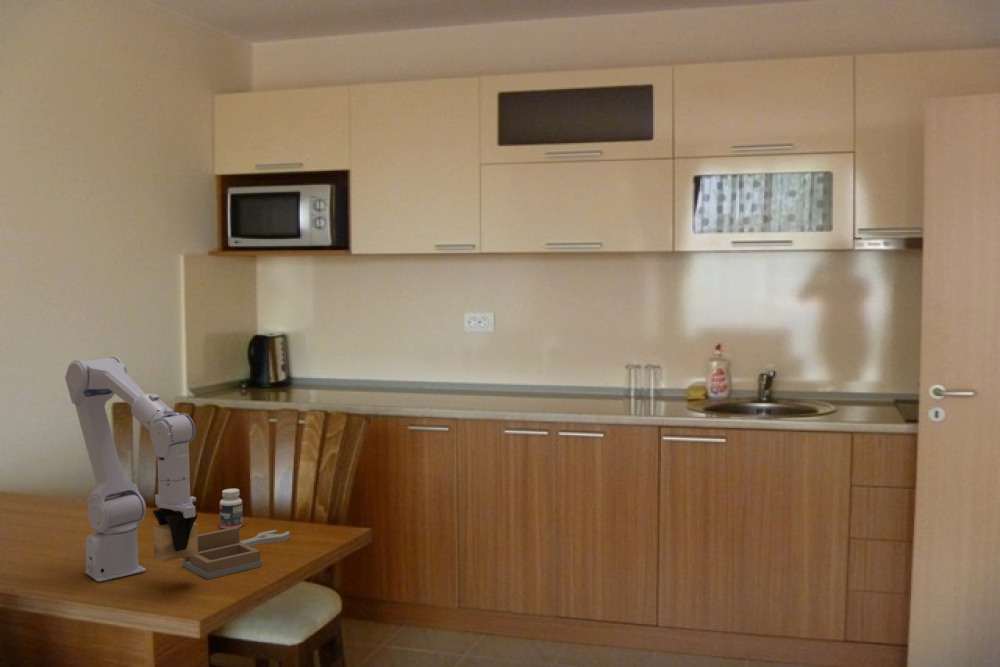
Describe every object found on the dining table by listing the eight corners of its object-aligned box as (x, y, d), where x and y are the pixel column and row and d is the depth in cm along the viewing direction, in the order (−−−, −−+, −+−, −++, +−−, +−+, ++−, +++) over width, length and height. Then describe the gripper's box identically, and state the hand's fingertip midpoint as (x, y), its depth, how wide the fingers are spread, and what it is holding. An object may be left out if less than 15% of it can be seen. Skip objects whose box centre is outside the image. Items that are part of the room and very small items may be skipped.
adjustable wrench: (188, 566, 186) (188, 557, 186) (175, 559, 191) (175, 551, 191) (293, 540, 204) (293, 532, 204) (279, 534, 208) (278, 527, 208)
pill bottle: (215, 527, 214) (214, 491, 213) (232, 522, 218) (232, 486, 217) (230, 530, 211) (229, 493, 210) (247, 525, 215) (246, 489, 215)
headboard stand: (206, 579, 176) (206, 549, 176) (182, 565, 185) (181, 537, 184) (262, 566, 184) (261, 537, 184) (236, 553, 193) (235, 526, 192)
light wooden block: (162, 562, 168) (161, 530, 167) (154, 557, 171) (153, 526, 170) (198, 554, 172) (197, 523, 172) (189, 549, 175) (188, 519, 175)
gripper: (210, 480, 168) (212, 551, 169) (179, 469, 179) (180, 535, 179) (173, 486, 163) (175, 559, 164) (143, 474, 174) (145, 542, 175)
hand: (175, 547), depth 171 cm, fingers closed on light wooden block, 4 cm apart
